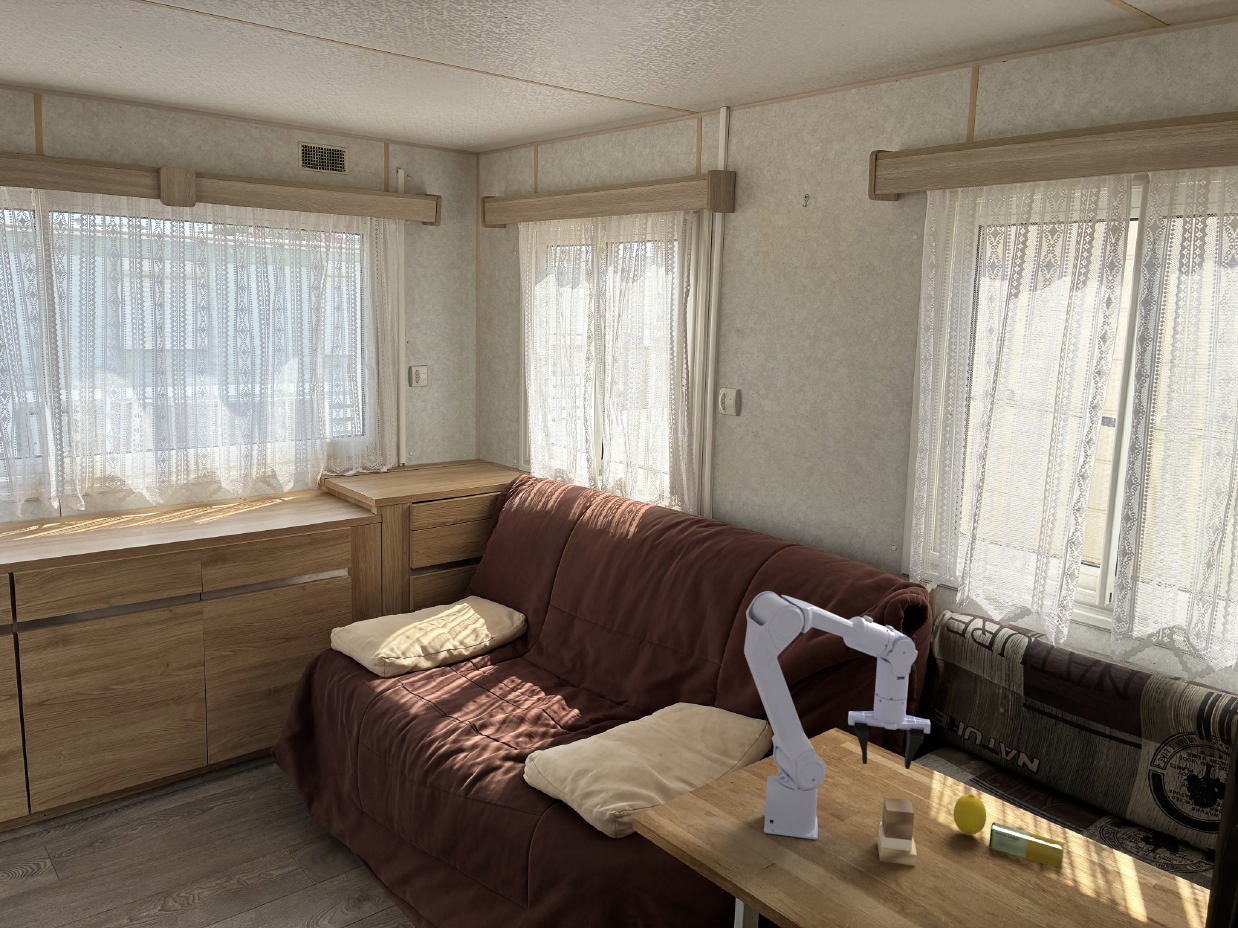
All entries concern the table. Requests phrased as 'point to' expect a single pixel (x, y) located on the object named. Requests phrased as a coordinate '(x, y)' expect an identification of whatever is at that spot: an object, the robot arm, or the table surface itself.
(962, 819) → the lemon
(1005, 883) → the table surface
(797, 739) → the robot arm
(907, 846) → the cream block
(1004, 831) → the medication box
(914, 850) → the oak base block
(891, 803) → the walnut block
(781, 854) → the table surface
